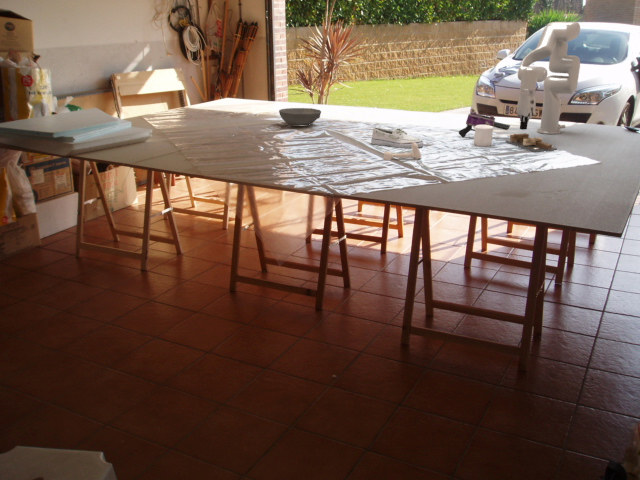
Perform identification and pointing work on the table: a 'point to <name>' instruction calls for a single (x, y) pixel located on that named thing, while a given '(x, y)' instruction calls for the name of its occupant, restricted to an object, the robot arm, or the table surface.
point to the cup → (483, 135)
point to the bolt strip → (529, 146)
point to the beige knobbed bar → (415, 154)
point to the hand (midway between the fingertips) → (523, 129)
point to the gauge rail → (525, 136)
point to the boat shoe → (394, 138)
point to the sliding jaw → (531, 141)
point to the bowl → (299, 115)
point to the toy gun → (481, 123)
